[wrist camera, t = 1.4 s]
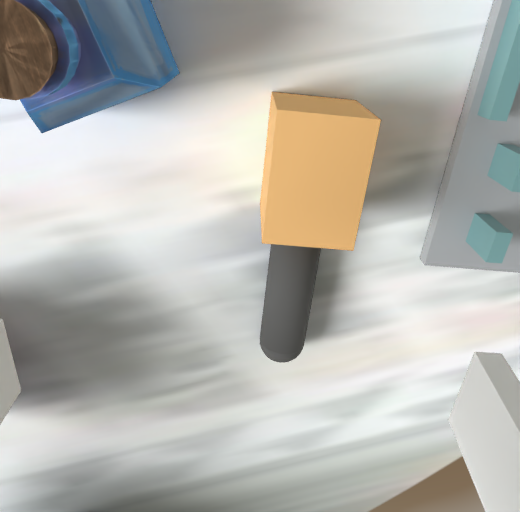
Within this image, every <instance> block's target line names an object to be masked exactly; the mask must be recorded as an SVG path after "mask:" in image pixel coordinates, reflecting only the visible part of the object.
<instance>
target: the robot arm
mask: <svg viewBox="0 0 520 512" xmlns="http://www.w3.org/2000/svg"><path fill="white" fill-rule="evenodd" d="M20 392H21V387H20V383H19V379H18V376H17V372H16V368H15V364H14V360H13V356H12V353H11V349H10V345H9V341H8V337H7V333H6V329H5V326H4V322H3V319H0V424H1V423H2V421H3V419H4V418H5V416H6V415H7V413H8V411H9V410H10V408H11V407H12V405H13V403H14V402H15V400H16V399H17V397H18V395H19V394H20ZM448 421H449V424H450V426H451V428H452V431H453V433H454V436H455V438H456V441H457V443H458V446H459V448H460V451H461V453H462V455H463V458H464V460H465V463H466V465H467V467H468V470H469V473H470V475H471V478H472V480H473V482H474V485H475V487H476V490H477V492H478V495H479V497H480V500H481V502H482V505H483V507H484V509H485V512H520V382H519V380H518V379H517V377H516V375H515V374H514V372H513V371H512V369H511V367H510V366H509V364H508V363H507V361H506V359H505V358H504V356H503V355H502V354H500V353H485V352H474V355H473V357H472V360H471V362H470V365H469V367H468V370H467V372H466V375H465V377H464V380H463V383H462V385H461V388H460V390H459V393H458V395H457V398H456V400H455V403H454V405H453V408H452V410H451V413H450V415H449V418H448Z"/></svg>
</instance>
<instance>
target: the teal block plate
mask: <svg viewBox="0 0 520 512" xmlns="http://www.w3.org/2000/svg"><path fill="white" fill-rule="evenodd" d="M420 259H421V261H422V262H423V263H424V265H431V266H443V267H456V268H468V269H481V270H493V271H506V272H518V273H520V0H494V1H493V4H492V8H491V11H490V15H489V18H488V22H487V25H486V29H485V32H484V36H483V39H482V43H481V46H480V50H479V53H478V57H477V60H476V64H475V67H474V71H473V74H472V78H471V81H470V85H469V88H468V92H467V95H466V99H465V102H464V106H463V109H462V113H461V116H460V120H459V123H458V127H457V130H456V134H455V137H454V141H453V144H452V148H451V151H450V155H449V158H448V162H447V165H446V169H445V172H444V176H443V179H442V183H441V186H440V190H439V193H438V197H437V200H436V204H435V207H434V211H433V214H432V218H431V221H430V225H429V228H428V232H427V235H426V239H425V242H424V246H423V249H422V253H421V256H420Z"/></svg>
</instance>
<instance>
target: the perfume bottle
mask: <svg viewBox="0 0 520 512" xmlns="http://www.w3.org/2000/svg"><path fill="white" fill-rule="evenodd" d="M178 74H179V70H178V68H177V65H176V63H175V60H174V58H173V56H172V53H171V51H170V48H169V46H168V43H167V41H166V38H165V36H164V33H163V31H162V28H161V26H160V23H159V21H158V18H157V16H156V13H155V11H154V8H153V6H152V3H151V1H150V0H0V98H3V99H10V100H19V99H20V101H21V103H22V104H23V106H24V108H25V110H26V111H27V113H28V114H29V116H30V117H31V119H32V120H33V121H34V123H35V124H36V126H37V127H38V129H39V130H40V131H41V133H44V132H46V131H49V130H52V129H54V128H57V127H59V126H62V125H65V124H67V123H70V122H72V121H75V120H78V119H80V118H83V117H85V116H88V115H91V114H93V113H96V112H98V111H101V110H103V109H106V108H109V107H111V106H114V105H116V104H119V103H122V102H124V101H127V100H129V99H132V98H135V97H137V96H140V95H142V94H145V93H148V92H150V91H153V90H155V89H158V88H161V87H162V86H163V85H165V84H166V83H167V82H169V81H170V80H171V79H173V78H174V77H175V76H177V75H178Z"/></svg>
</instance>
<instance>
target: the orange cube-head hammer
mask: <svg viewBox="0 0 520 512" xmlns="http://www.w3.org/2000/svg"><path fill="white" fill-rule="evenodd" d="M380 122H381V119H379V118H378V117H377V116H375V115H374V114H373V113H372V112H370V111H369V110H368V109H366V108H365V107H364V106H362V105H361V104H360V103H359V102H357V101H356V100H349V99H339V98H329V97H319V96H309V95H299V94H289V93H279V92H272V95H271V104H270V114H269V123H268V133H267V143H266V152H265V162H264V171H263V181H262V191H261V200H260V211H261V231H262V243H264V244H271V250H270V258H269V267H268V275H267V283H266V292H265V300H264V308H263V316H262V325H261V333H260V345H261V348H262V350H263V352H264V353H265V355H266V356H267V357H268V358H270V359H271V360H273V361H276V362H289V361H291V360H293V359H295V358H296V357H297V356H298V355H299V354H300V353H301V351H302V349H303V346H304V341H305V336H306V330H307V324H308V318H309V313H310V307H311V301H312V296H313V290H314V284H315V278H316V273H317V267H318V261H319V256H320V250H321V248H326V249H339V250H351V251H353V250H354V245H355V240H356V236H357V231H358V226H359V222H360V217H361V212H362V207H363V203H364V198H365V193H366V188H367V184H368V179H369V174H370V169H371V165H372V160H373V155H374V150H375V146H376V141H377V136H378V132H379V127H380Z"/></svg>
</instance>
